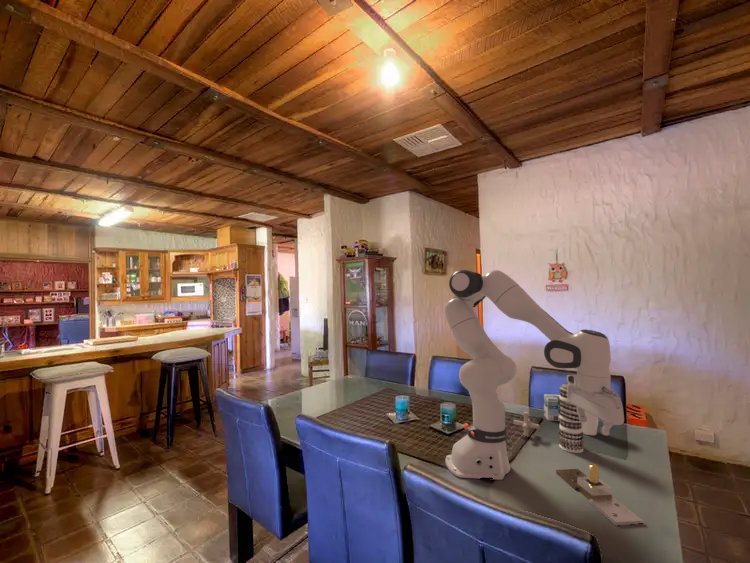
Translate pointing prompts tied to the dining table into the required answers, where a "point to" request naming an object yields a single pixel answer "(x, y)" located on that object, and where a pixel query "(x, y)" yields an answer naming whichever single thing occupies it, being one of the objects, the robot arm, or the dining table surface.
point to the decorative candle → (569, 424)
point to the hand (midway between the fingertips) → (593, 427)
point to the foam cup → (590, 424)
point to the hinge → (600, 497)
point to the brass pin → (594, 475)
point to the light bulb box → (551, 407)
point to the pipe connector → (526, 424)
